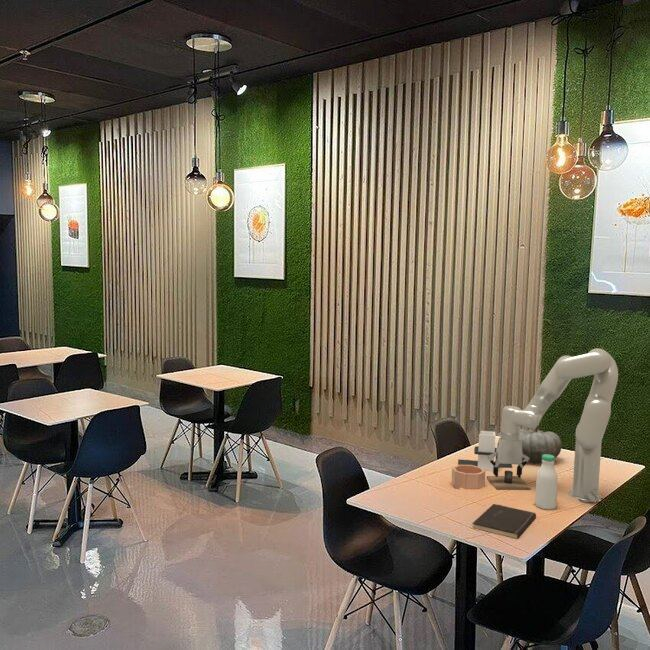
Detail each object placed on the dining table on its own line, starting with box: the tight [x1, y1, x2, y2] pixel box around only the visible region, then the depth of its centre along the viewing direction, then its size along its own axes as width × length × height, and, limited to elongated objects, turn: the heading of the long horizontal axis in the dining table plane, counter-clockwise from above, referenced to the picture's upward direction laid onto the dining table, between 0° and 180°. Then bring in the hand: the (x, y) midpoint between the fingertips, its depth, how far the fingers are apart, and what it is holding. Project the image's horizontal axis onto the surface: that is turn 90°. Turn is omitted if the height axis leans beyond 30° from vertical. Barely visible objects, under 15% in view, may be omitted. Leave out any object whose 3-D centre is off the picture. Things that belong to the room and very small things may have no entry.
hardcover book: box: [472, 503, 537, 539], centre depth 234 cm, size 16×23×2 cm
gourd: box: [519, 425, 563, 464], centre depth 312 cm, size 25×25×17 cm
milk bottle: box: [534, 454, 559, 511], centre depth 250 cm, size 8×8×20 cm
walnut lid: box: [486, 470, 532, 491], centre depth 273 cm, size 14×14×5 cm
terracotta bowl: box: [451, 464, 486, 490], centre depth 273 cm, size 13×13×7 cm
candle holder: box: [457, 430, 513, 472], centre depth 295 cm, size 25×24×16 cm
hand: (507, 476), depth 274 cm, fingers open, 9 cm apart
